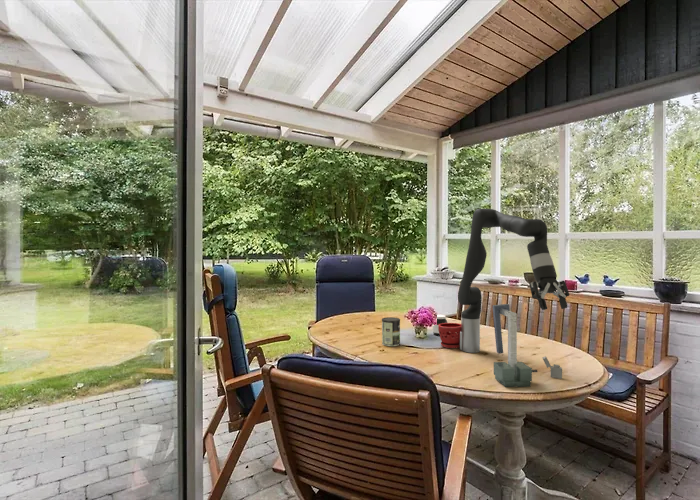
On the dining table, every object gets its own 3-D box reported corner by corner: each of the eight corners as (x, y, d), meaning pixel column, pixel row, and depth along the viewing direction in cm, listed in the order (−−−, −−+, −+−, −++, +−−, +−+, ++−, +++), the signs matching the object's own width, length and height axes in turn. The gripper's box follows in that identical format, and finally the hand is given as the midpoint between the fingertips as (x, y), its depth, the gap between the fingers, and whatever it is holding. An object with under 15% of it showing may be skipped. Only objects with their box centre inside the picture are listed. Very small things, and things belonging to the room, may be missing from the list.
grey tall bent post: (503, 387, 138) (503, 315, 137) (483, 370, 156) (483, 307, 156) (543, 386, 138) (543, 314, 138) (519, 370, 156) (519, 306, 156)
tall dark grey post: (498, 353, 151) (494, 306, 151) (496, 352, 153) (492, 305, 153) (513, 352, 151) (509, 304, 151) (511, 350, 153) (506, 303, 153)
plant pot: (460, 343, 200) (460, 322, 200) (465, 349, 187) (465, 327, 187) (437, 343, 201) (436, 321, 201) (440, 349, 188) (440, 327, 188)
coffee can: (399, 341, 205) (399, 317, 205) (401, 346, 194) (401, 320, 194) (381, 341, 205) (381, 317, 205) (382, 346, 195) (382, 320, 194)
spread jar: (437, 332, 227) (437, 313, 227) (454, 334, 220) (454, 315, 220) (429, 335, 218) (429, 316, 218) (446, 338, 211) (446, 319, 211)
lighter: (562, 377, 147) (562, 358, 147) (561, 379, 146) (561, 359, 146) (542, 374, 151) (542, 355, 151) (542, 375, 150) (542, 356, 150)
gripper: (551, 269, 141) (563, 310, 136) (520, 270, 138) (531, 311, 133) (565, 263, 134) (578, 306, 129) (533, 264, 131) (545, 307, 126)
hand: (554, 309), depth 131 cm, fingers open, 8 cm apart
